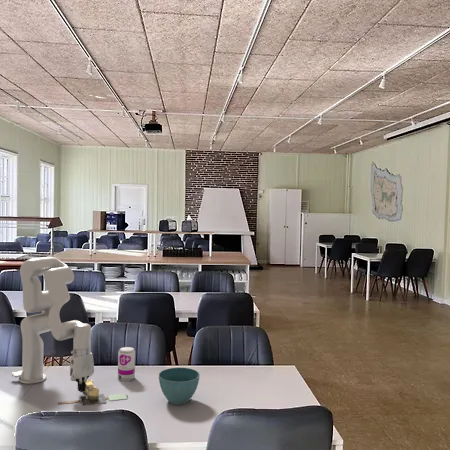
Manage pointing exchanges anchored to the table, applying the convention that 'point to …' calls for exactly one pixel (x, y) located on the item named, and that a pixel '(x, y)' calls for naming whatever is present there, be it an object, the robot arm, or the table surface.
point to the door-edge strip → (77, 401)
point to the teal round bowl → (178, 384)
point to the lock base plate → (88, 402)
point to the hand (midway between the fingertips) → (81, 390)
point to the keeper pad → (117, 397)
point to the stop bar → (91, 390)
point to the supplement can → (126, 363)
